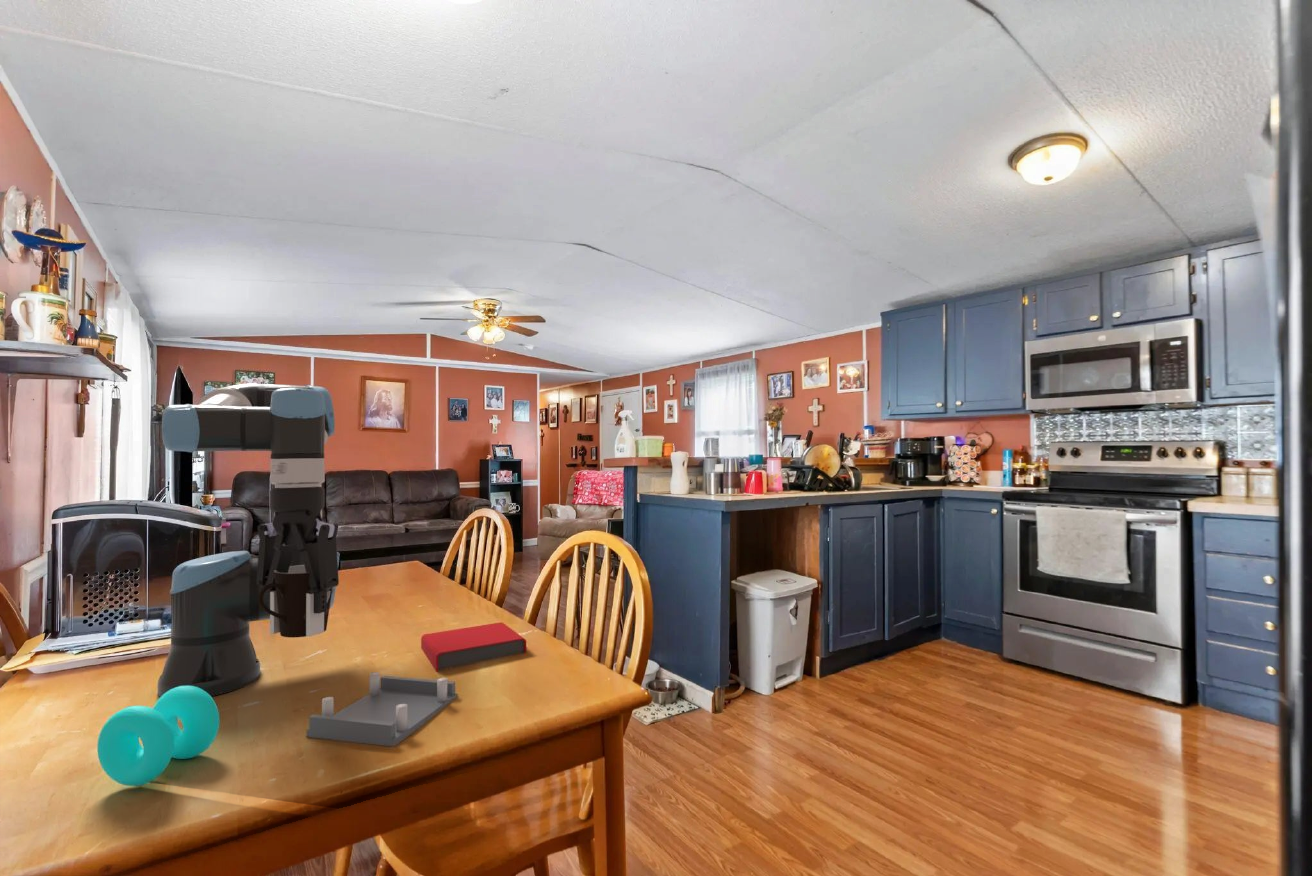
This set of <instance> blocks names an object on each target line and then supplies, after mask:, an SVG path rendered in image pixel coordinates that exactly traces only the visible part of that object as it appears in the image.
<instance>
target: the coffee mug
mask: <svg viewBox="0 0 1312 876" xmlns="http://www.w3.org/2000/svg"><path fill="white" fill-rule="evenodd" d="M309 576H310V573H309V572H307V573H306V569H305V566H304V565H298V566H290V567H289V570H288V573H279V572H277V571H276V570H274V577H275V583H270V584H267V585H266V586H264V587H263V588H262V589H261V591H260V593H259V597H258V602H259V605H260V606H261V608H262V609H263V610H265V611H266V612H267V613H269V614H271V615H273V616H275V617H277V618H279V626H280V632H279V633H280V636H281V637H283V638H306V637H307V636H306V594H307V591H309V590H311V589H310V585H309ZM319 583H320V581H319V582H318V584H319ZM270 587H276V597H277V606H278V613H276V612H274V611H272V610H270V609H268V608H267V606H266V605H265V604H264V602H263V596H264V593H265V592H266V590H268V589H269V588H270ZM332 589H333V587H332V588H330V589H328V591H327V610H326V612H324V632H326V631H327V627H328V621H329V615H330V614H329V613H330V609H331V608H330V602H331V595H332ZM324 632H322V633H324ZM322 633H319V634H318V635H320V634H322Z"/></svg>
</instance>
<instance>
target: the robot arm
mask: <svg viewBox="0 0 1312 876" xmlns="http://www.w3.org/2000/svg"><path fill="white" fill-rule="evenodd" d="M334 412H335V411H334V404H333V400H332V395H331V393H330V391H329V390H328V389H327V388H325V387H323V386H316V385H310V384H304V385H294V384H275V383H274V384H273V383H272V384H271V383H256V382H255V383H253V382H251V383H250V382H249V383H240V384H239V383H238V384H233V385H228V386H224V387H220V388H216V389H214V390H211V391H209V392H207V393H206V394H204V395H203V396H202V398H201V399H200V400H199V402H198V403H197V404H190V403H185V404H170V405H167V406H166V407H165V408H164V410H163V413H162V417H161V438H162V443H163V447H164V448H165V449H166V450H168V451H173V452H186V453H194V452H232V451H233V452H235V451H236V452H237V451H238V452H240V451H241V452H270V469H269V470H270V471H269V473H270V477H269V478H270V484H271V485H274V488H271V490H269V510H270V511H271V512H273V514H274V515H273V519H272V522H268V523H262V524H258V525H257V533H258V538H259V540H258V541H259V543H258V544H259V545H258V556H257V557H256V558H254V557H253V558H252V555H251V554H250V552H249V551H248V550H240V551H239V550H238V551H227V552H222V553H216V554H211V555H210V554H209V555H206V556H203V557H198V558H195V559H191V560H187V561H184V562H183V563H180V564H179V565H177V566H176V567H175V568H174V570H173V571H172V579H171V589H170V590H169V594H171V601H170V602H171V603H170V604H171V607H170V613H171V615H170V617H171V618H170V619H171V621H170V624H171V625H170V648H169V652H168V654H167V656H166V657H167V658H166V660H165V662H164V666H163V670H162V672H161V675H160V676H159V678H158V680H157V696H158V697H159V698H160V697H161V696H162V695H163V694H165V693H166V692H167V691H169V690H171V689H173V688H176V687H179V686H195V687H198V688H200V689H202V690H204V691H205V692H207V693H208V694H209V695H210V696H211V697H213V696H214V697H215V696H217V695H218V696H219V695H222V694H226V693H230V692H233V691H235V690H239V689H242V688H244V687H246V686H249V685H251V684H252V683H254V682H255V681H256V680H258V678H259V677H260V676H261V662H260V660H259V659H258V658H257V654H256V650H255V648H254V645H253V642H252V639H251V637H250V622H251V623H252V622H257V621H258V622H259V621H266V620H269V634H270V635H275V634H279V633H280V626H279V618H277V617H275V616H273V615H271V614H269V613H267V612H266V611H265V610H263V609H262V608H261V606H260V605H259V602H258V597H259V593H260V591H261V589H262V588H263V587H264V586H266V585H267V584H270V583H275V577H274V570H276V571H277V572H279V573H288V570H289V567H290V566H298V565H304V566H305V569H306V573H307V572H309V573H310V576H309V585H310V589H311V590H309V591H307V594H306V637H313V636H316V635H320V634H322V632H323V633H324V612H326V610H327V591H328V589H330V588H332V587H333V589H332V595H331V602H330V609H332V608H333V605H334V602H335V595H336V588H337V587H338V586H339V582H340V581H339V563H340V556H341V555H340V554H341V553H340V552H338V551H337V550H338V549H337V535H338V530H339V525H338V523H335V522H334V523H327V522H325V521H324V519H323V509H325V502H326V501H325V500H326V499H325V492H326V491H325V488H324V487H323V486H322V484H323V483H325V481H326V479H325V477H326V476H325V475H326V474H325V473H326V472H325V445H326V443H327V442H328V439H329V437H332V436H333V435H334V434H335V431H336V425H335V424H336V423H335V421H336V420H335V414H334ZM319 581H320V583H319V584H318V582H319ZM263 602H264V604H265V605H266V606H267V608H268V609H270V610H272V611H274V612H276V613H278V606H277V597H276V587H270V588H269V589H268V590H266V592H265V593H264V596H263ZM319 633H320V634H319Z"/></svg>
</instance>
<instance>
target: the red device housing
mask: <svg viewBox="0 0 1312 876" xmlns="http://www.w3.org/2000/svg"><path fill="white" fill-rule="evenodd" d="M420 647H421V650H422V652H423V653H424V655H425V657H426V658H427V659H428V661H429V662H430V664H431V666H432V667H433V669H434V671H435V672H439V671H442V670H446V668H447V669H451V667H452V668H455V667H460V666H461V665H462V666H466V665H471V664H475V663H481V662H484V661H489V660H494V659H498V658H504V657H509V656H514V655H518V654H523V653H524V654H526V653H527V640H526V639H525V638H524V637H523V636H521V635H520V634H519V633H518V632H517V631H515V630H513V628H511V627H509V626H508V625H506V624H505V623H504V622H502V621H500V622H493V623H488V624H482V625H475V626H469V627H463V628H456V629H450V630H444V631H443V630H442V631H438V632H430V633H426V634H425V633H424V634H423V635H422V636H421V639H420ZM441 669H442V670H441Z"/></svg>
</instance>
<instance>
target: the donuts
mask: <svg viewBox="0 0 1312 876" xmlns="http://www.w3.org/2000/svg"><path fill="white" fill-rule="evenodd" d="M219 712H220V711H219V709H218V706H217V704H216V702H215V700H214V699H213V696H210V695H209V694H208V693H207V692H205V691H204V690H202V689H200V688H198V687H195V686H179V687H176V688H173V689H171V690H169V691H167V692H166V693H165V694H163V695H162V696H161V697H160V696H159V698H158V700H157V701H156V702H155V704H154V706H153V707H149V706H146V705H145V706H144V705H131V706H127V707H124V708H123V709H121V710H118V711H117V712H115V713H114V714H112V715H111V716H110V717H109V718H108V719H107V721H106V722H105V723H104V725H103V726H102V727H101V730H100V732H99V736H98V740H97V744H96V745H97V748H96V749H97V750H96V751H97V758H98V761H99V763H100V766H101V768H102V770H103V771H104V772H105V774H106V775H107V776H108V777H109V778H110V779H111V780H113V781H115V782H116V783H118V784H121V785H124V786H127V787H128V786H131V787H132V786H133V787H135V786H136V787H137V786H141V785H145V784H147V783H150V782H152V781H154V780H155V779H157V778H158V777H159V776H160V775H161V774H162V773H163V772H164V771H165V769H166V768H167V767H168V765H169V764H170V761H171V759H172V758H173V759H178V760H182V759H183V760H186V759H187V760H188V759H193V758H195V757H197V756H199V755H200V754H202V753H204V752H205V751H206V750H207V749H209V748H210V746H212V745H213V742H214V741H215V740H216V737H217V735H218V733H219V728H220V713H219ZM178 720H179V721H180V722H181V724H182V729H181V728H180V726H179V723H178ZM140 741H141V743H142V744H141V743H140Z"/></svg>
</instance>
